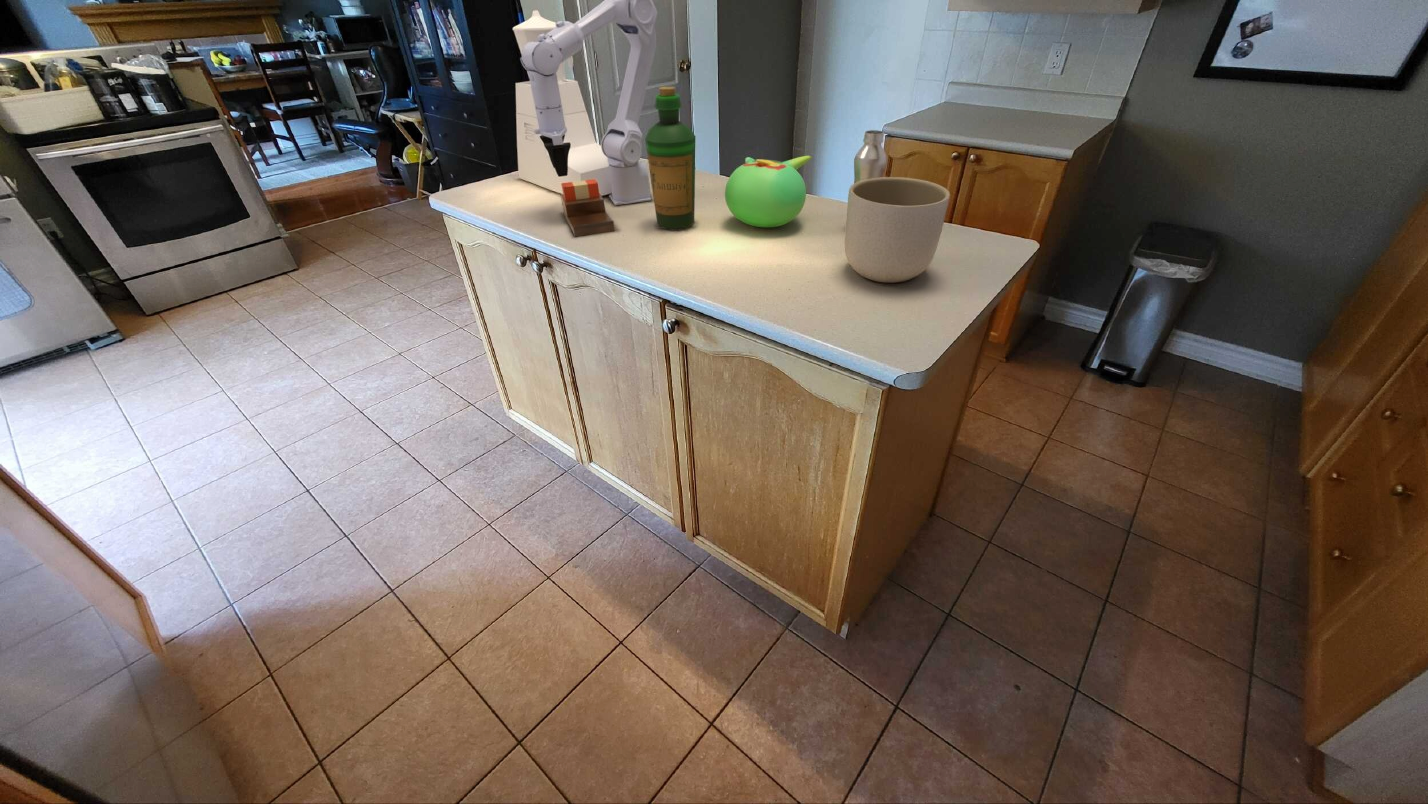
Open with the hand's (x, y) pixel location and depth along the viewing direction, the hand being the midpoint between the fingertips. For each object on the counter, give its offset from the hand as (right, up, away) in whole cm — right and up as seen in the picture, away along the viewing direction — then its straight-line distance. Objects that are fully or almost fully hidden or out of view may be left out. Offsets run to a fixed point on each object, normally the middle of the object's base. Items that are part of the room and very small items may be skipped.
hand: (560, 171), depth 132 cm
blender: (-2, +8, +28) cm, 29 cm away
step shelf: (+6, -11, +2) cm, 13 cm away
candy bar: (+4, -5, +3) cm, 7 cm away
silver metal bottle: (+69, -16, -6) cm, 71 cm away
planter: (+68, -29, -24) cm, 78 cm away
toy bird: (+48, -13, -2) cm, 49 cm away
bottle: (+27, -13, -1) cm, 30 cm away
